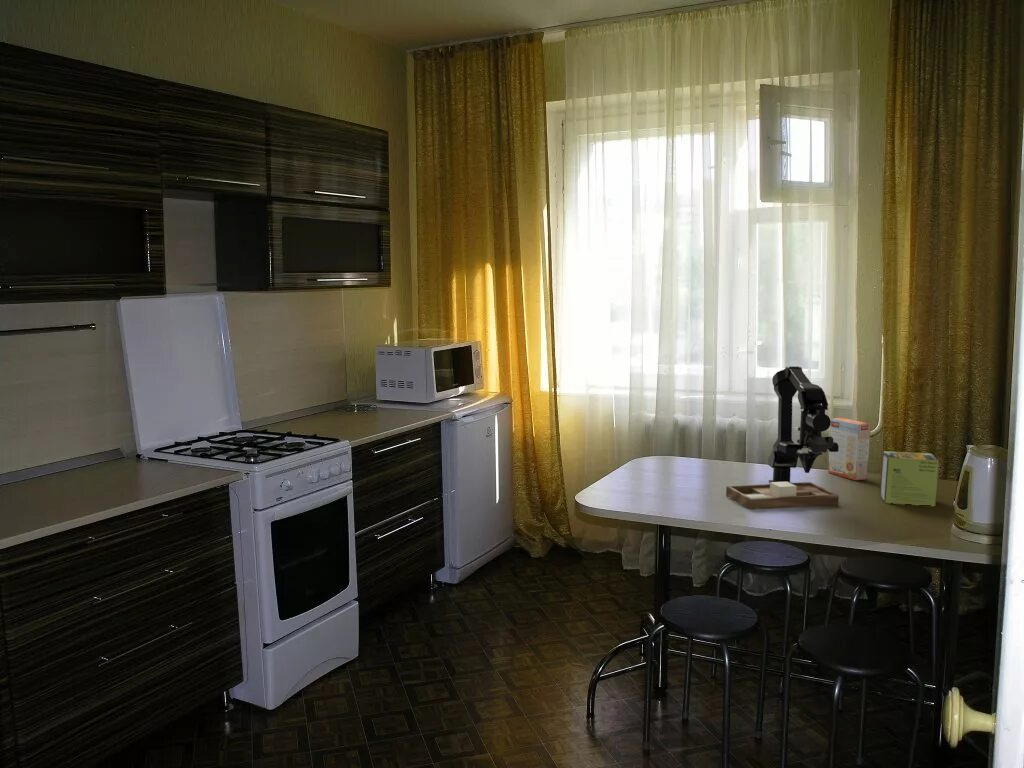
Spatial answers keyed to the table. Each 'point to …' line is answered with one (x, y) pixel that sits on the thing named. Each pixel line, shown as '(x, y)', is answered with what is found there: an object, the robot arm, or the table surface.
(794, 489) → the cream block
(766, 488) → the tray
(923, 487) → the protein box
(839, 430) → the cracker box
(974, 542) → the table surface
